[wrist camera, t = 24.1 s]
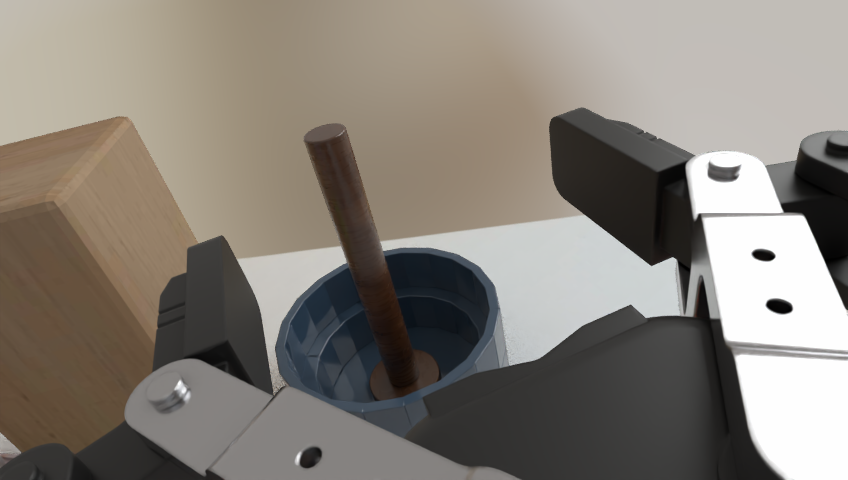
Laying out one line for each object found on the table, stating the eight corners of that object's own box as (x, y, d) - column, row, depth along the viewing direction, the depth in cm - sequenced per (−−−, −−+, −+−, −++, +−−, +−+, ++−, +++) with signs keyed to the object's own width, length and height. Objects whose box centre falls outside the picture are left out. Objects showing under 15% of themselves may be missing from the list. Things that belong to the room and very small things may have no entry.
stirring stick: (427, 348, 37) (359, 103, 27) (453, 397, 33) (384, 132, 23) (365, 374, 36) (270, 131, 26) (384, 427, 32) (281, 166, 22)
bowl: (461, 298, 41) (445, 225, 37) (551, 427, 31) (543, 345, 27) (299, 364, 39) (264, 293, 35) (336, 529, 28) (293, 454, 24)
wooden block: (135, 389, 40) (-48, 155, 29) (263, 356, 40) (130, 111, 29) (86, 517, 32) (-197, 260, 21) (247, 475, 32) (53, 197, 21)
